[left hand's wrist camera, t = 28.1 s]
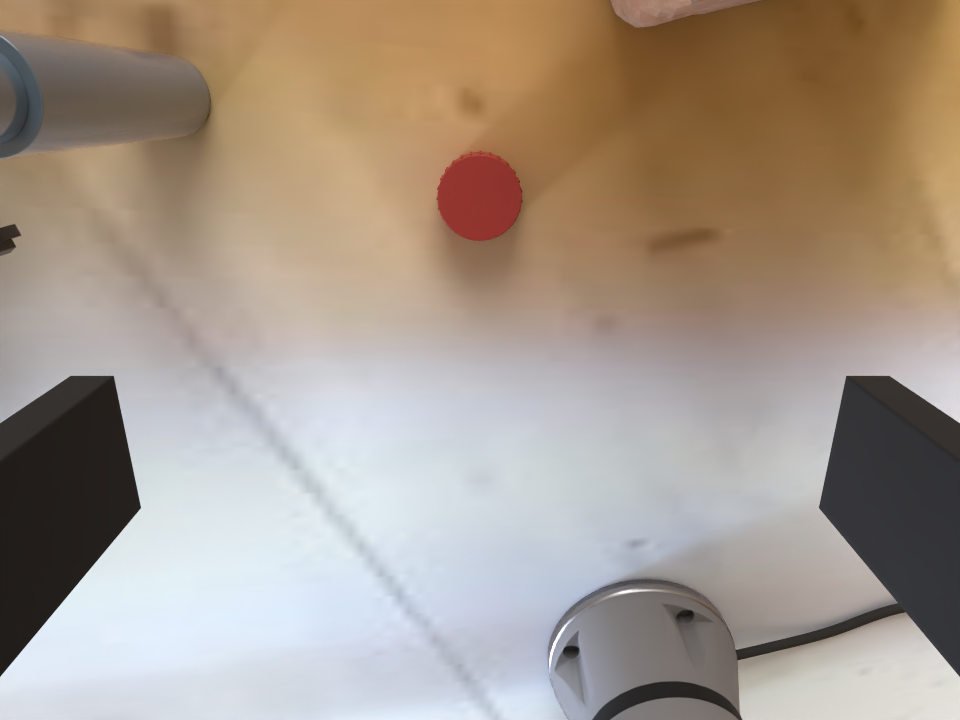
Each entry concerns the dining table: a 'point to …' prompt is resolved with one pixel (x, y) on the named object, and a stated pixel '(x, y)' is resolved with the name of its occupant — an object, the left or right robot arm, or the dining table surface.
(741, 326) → the dining table surface
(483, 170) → the lid
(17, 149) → the bottle
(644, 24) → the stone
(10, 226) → the right robot arm
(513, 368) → the dining table surface
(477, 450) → the dining table surface
